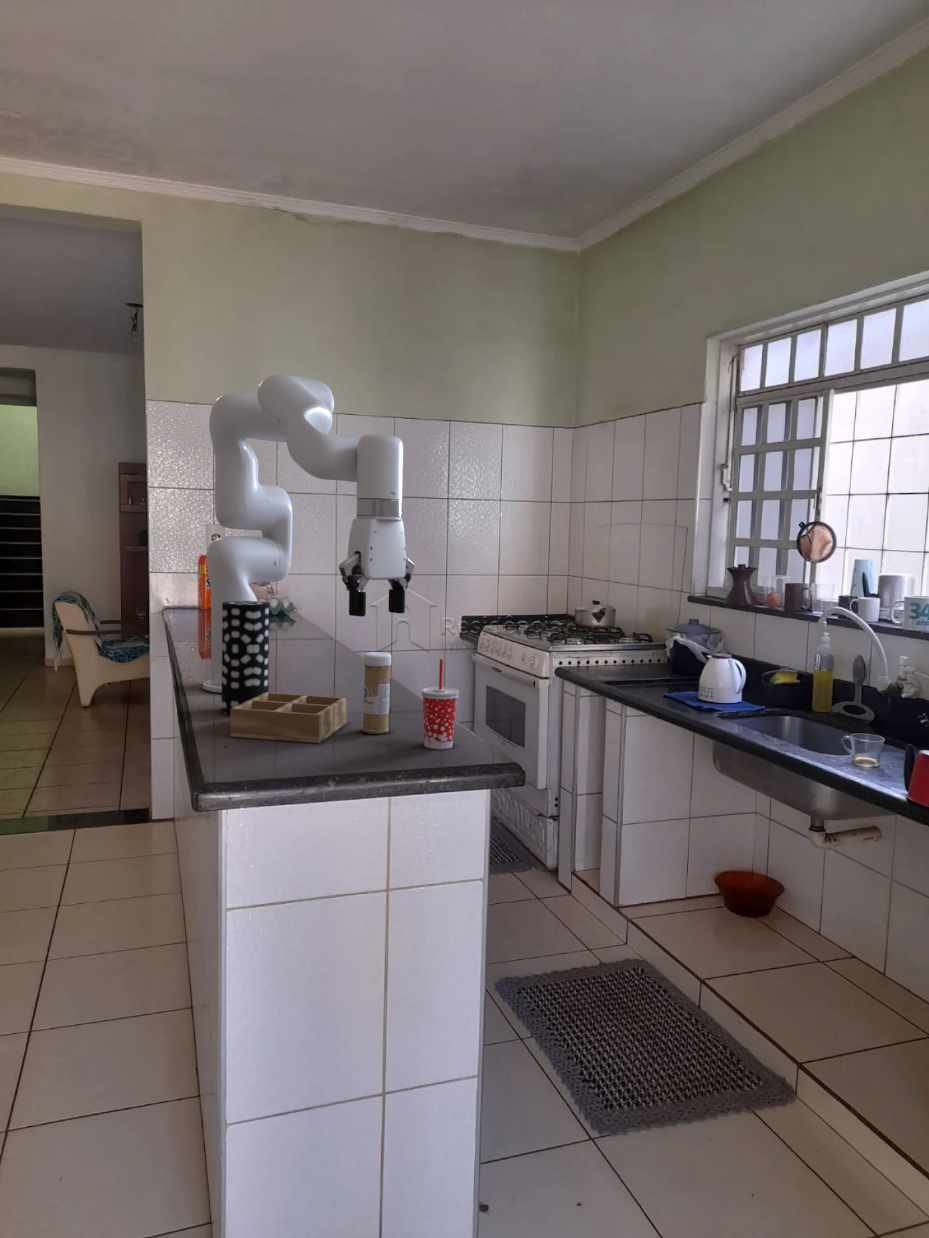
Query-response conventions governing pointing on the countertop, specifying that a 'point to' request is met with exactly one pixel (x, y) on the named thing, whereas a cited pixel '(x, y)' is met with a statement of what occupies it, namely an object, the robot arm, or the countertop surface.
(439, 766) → the countertop surface
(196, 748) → the countertop surface
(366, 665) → the sprinkles bottle
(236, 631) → the spotted tube
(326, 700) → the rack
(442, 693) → the beverage cup
